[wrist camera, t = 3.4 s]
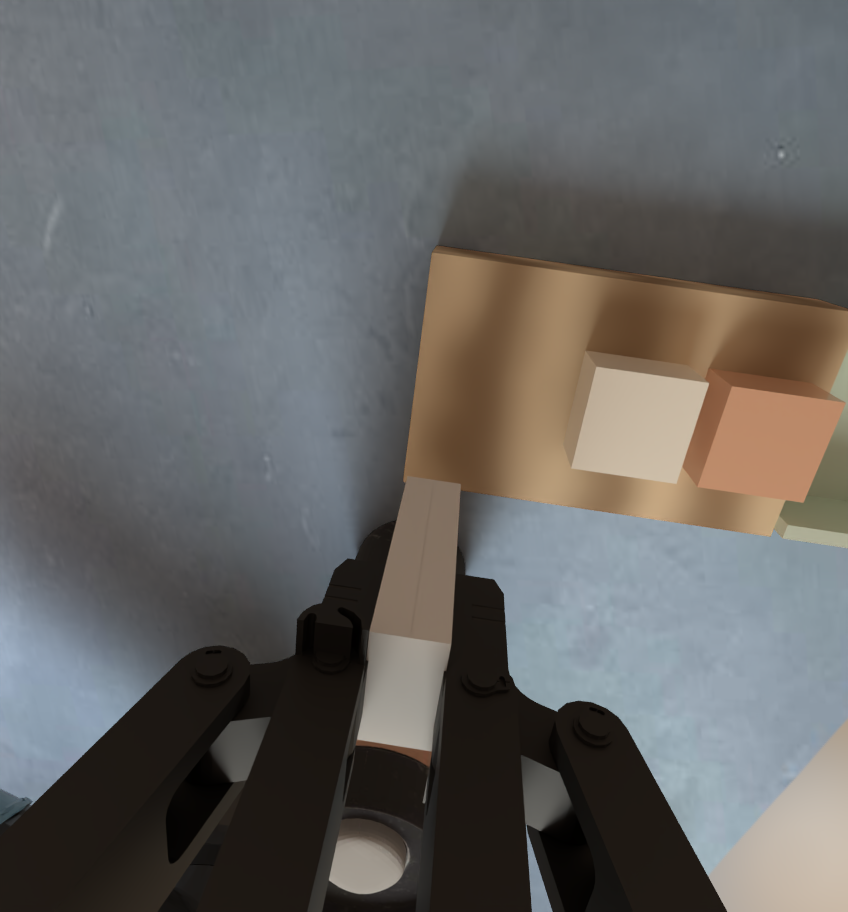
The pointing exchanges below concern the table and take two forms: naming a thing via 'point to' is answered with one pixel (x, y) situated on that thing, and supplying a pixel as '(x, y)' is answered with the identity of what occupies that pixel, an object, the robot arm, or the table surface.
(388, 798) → the travel mug
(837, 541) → the tray
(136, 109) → the table surface
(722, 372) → the terracotta clay block
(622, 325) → the flat wooden block
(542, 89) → the table surface
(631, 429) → the beige square block
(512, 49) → the table surface
